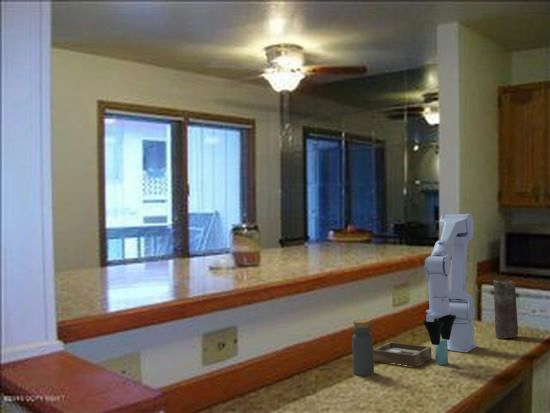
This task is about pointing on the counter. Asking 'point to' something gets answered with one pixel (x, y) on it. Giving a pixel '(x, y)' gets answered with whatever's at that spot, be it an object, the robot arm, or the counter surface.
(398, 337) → the counter surface
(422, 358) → the box
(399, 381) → the counter surface
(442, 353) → the peg
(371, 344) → the bottle
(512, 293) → the candle
